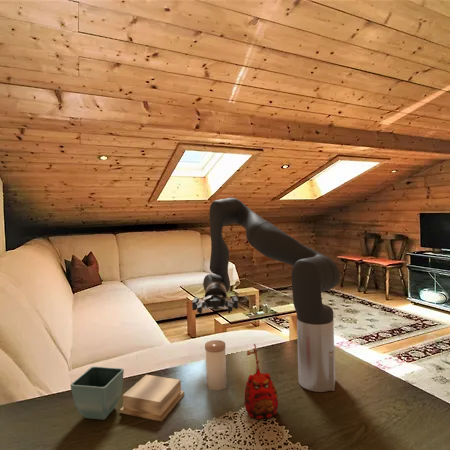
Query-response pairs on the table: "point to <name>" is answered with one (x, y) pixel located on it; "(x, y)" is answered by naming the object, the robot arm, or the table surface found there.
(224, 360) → the cream canister
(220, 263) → the robot arm
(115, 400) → the flower pot
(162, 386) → the oak plinth
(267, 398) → the red clay folk toy
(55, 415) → the table surface
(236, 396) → the table surface
